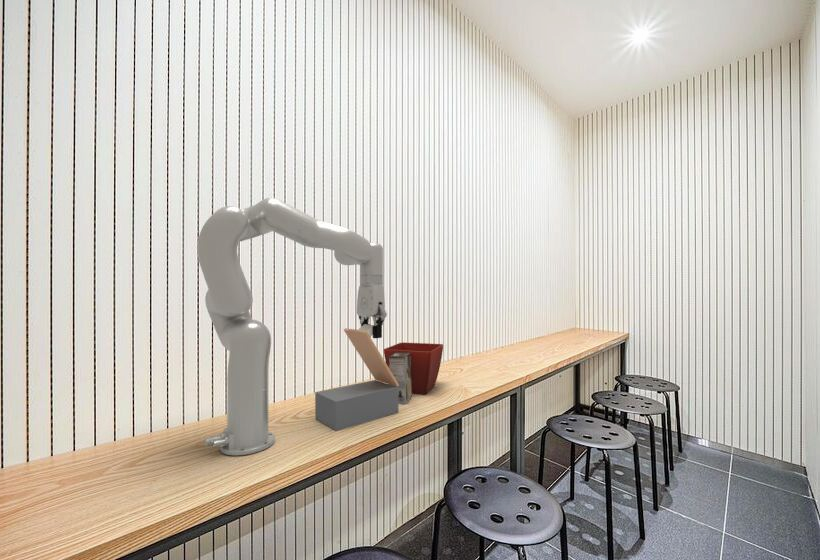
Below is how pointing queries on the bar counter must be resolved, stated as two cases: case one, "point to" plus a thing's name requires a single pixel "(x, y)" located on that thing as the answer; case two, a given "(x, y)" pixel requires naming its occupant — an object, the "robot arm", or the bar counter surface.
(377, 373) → the lid
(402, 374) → the coffee box
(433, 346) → the plant pot
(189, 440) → the bar counter surface
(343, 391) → the carton
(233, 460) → the bar counter surface
